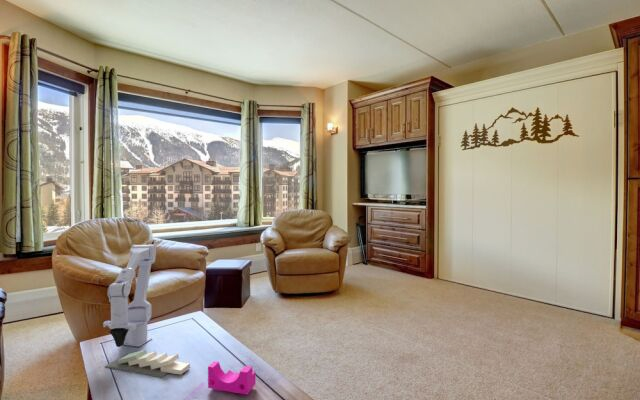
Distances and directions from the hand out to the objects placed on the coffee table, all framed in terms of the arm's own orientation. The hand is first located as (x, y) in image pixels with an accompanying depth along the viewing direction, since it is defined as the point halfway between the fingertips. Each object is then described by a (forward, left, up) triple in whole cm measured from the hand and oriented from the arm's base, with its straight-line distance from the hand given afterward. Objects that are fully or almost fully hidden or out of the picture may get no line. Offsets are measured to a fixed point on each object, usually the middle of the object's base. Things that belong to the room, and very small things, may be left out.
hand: (120, 345), depth 128 cm
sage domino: (+2, 0, -5) cm, 5 cm away
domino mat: (+12, 0, -6) cm, 13 cm away
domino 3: (+18, 0, -5) cm, 18 cm away
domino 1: (+7, 0, -5) cm, 9 cm away
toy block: (+52, -3, -7) cm, 53 cm away
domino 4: (+22, 0, -5) cm, 23 cm away
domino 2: (+12, 0, -5) cm, 13 cm away
